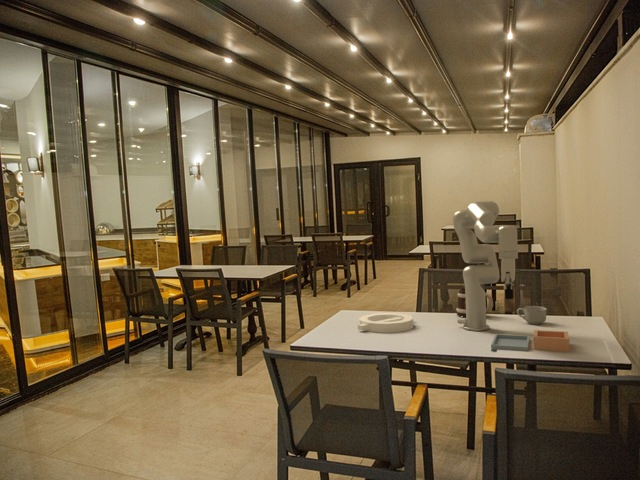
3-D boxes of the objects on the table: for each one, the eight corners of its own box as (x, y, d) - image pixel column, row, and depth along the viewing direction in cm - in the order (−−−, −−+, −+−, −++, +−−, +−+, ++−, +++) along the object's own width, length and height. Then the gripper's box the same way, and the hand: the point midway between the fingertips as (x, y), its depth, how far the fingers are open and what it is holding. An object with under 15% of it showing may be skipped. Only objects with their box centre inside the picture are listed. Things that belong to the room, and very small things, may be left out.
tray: (491, 350, 202) (491, 344, 202) (495, 339, 220) (495, 334, 220) (527, 353, 196) (527, 347, 196) (529, 341, 214) (529, 335, 214)
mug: (455, 318, 271) (454, 291, 271) (457, 312, 285) (456, 287, 285) (493, 319, 264) (492, 291, 264) (493, 313, 279) (492, 287, 278)
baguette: (504, 311, 206) (503, 285, 206) (504, 309, 210) (504, 284, 210) (515, 312, 205) (514, 286, 204) (515, 310, 209) (515, 284, 208)
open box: (533, 351, 198) (533, 336, 198) (534, 343, 210) (533, 330, 210) (569, 353, 193) (569, 338, 193) (568, 345, 205) (567, 331, 204)
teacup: (548, 322, 251) (547, 306, 251) (545, 326, 242) (544, 310, 242) (519, 320, 259) (519, 305, 258) (515, 324, 250) (515, 308, 249)
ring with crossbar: (413, 321, 269) (412, 312, 268) (413, 333, 241) (413, 323, 241) (362, 321, 274) (361, 313, 273) (357, 333, 246) (356, 323, 246)
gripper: (500, 253, 216) (501, 294, 217) (497, 256, 201) (498, 300, 201) (518, 253, 213) (520, 295, 213) (516, 256, 197) (518, 301, 198)
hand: (509, 297), depth 207 cm, fingers closed on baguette, 4 cm apart
